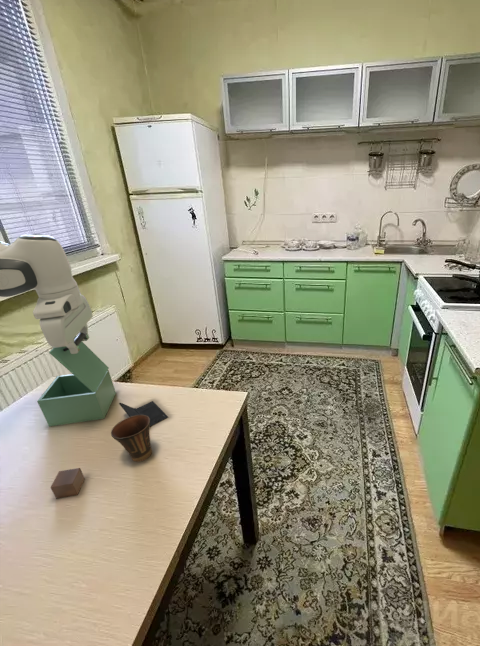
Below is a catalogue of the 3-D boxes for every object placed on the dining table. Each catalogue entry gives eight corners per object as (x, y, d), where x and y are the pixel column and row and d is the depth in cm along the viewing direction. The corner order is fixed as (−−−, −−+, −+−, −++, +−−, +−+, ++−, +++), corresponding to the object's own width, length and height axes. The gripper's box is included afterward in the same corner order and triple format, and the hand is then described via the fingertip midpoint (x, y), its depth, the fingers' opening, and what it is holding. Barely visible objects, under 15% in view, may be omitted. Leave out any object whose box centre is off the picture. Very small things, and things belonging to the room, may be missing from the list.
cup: (136, 438, 87) (126, 409, 83) (165, 444, 85) (157, 414, 81) (112, 464, 80) (100, 433, 75) (143, 471, 78) (133, 440, 73)
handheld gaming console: (174, 410, 95) (146, 398, 87) (161, 434, 92) (132, 423, 85) (153, 401, 102) (126, 389, 94) (140, 422, 99) (112, 412, 92)
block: (57, 501, 71) (50, 487, 69) (65, 484, 75) (59, 471, 73) (79, 497, 72) (72, 483, 70) (86, 480, 76) (80, 467, 74)
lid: (48, 352, 82) (65, 342, 82) (68, 331, 93) (82, 323, 93) (93, 393, 90) (108, 384, 89) (106, 369, 101) (120, 361, 100)
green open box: (50, 428, 92) (37, 401, 87) (67, 401, 103) (57, 375, 98) (105, 420, 94) (95, 393, 90) (116, 395, 105) (108, 369, 101)
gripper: (65, 288, 92) (82, 331, 98) (28, 315, 74) (52, 366, 80) (89, 285, 93) (104, 328, 99) (58, 312, 75) (79, 362, 81)
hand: (80, 346), depth 89 cm, fingers closed on lid, 6 cm apart
